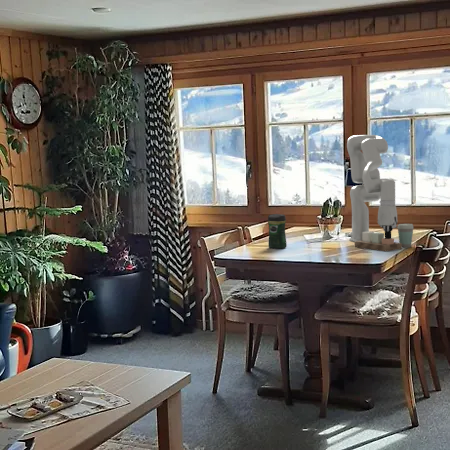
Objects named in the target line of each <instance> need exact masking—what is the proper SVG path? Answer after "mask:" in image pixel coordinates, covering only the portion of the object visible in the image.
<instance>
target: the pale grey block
mask: <svg viewBox="0 0 450 450" xmlns="http://www.w3.org/2000/svg"><path fill="white" fill-rule="evenodd" d="M372 233H375V232H374V231H370V230H369V231H368V232H362V240H363V241H365V242H372Z"/></svg>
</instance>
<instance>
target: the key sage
mask: <svg viewBox="0 0 450 450" xmlns="http://www.w3.org/2000/svg"><path fill="white" fill-rule="evenodd" d="M382 238H385V232H384V233H383V232H374V233H372V243H382Z"/></svg>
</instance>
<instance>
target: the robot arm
mask: <svg viewBox="0 0 450 450" xmlns="http://www.w3.org/2000/svg"><path fill="white" fill-rule="evenodd" d="M346 142H347V143H346V148H347V149H346V150H347V152H348V153H347V154H348V156H349V159H350V172H351V173H350V174H351V175H350V176H351V180H352V182H353V183H355V184H359V185H355V186H353V187H351V188H350V191H349V197H350V202H351V232H349V233H348V234H347V236H349V239H348V240H349V241H351V242H355V241H361V240H362V232H368V231H369V232H370V228H369V227H370V218H369V217H370V216H369V215H370V211H369V207H368V206H367V204H366V203H367V202H369V203H371V202H378V201H379V204H380V205H379V206H378V210H377V224H378V225H379V227H381V228H382V229H383V232H384V238H385V239H391V238H392V231H393V229H397V226H398V211H397V206H396V181H395V180H394V179H390V178H381V175H380V174H381V173H380V171H379V168H380V167H381V165H382V164H383V159H382V157H381V154H385V153H387V152H388V149H389V146H388V141H387V140H386V139H385V138H384V137H383V136H382V137H381V136H379V135H376V134H359V135H358V134H357V135H351V136H350V137H349V138H348V139H347V141H346ZM362 184H363V185H362Z"/></svg>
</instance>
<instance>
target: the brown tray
mask: <svg viewBox="0 0 450 450" xmlns="http://www.w3.org/2000/svg"><path fill="white" fill-rule="evenodd" d="M354 247H355V248H361V249H367V250H374V251H380V252H381V251H382V252H390V251H396V250H402V249H403V247H402V243H399V242H397V241H394V244H390V245H387V244H382V243H372V242H365V241H363V240H361V241H354Z"/></svg>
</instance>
